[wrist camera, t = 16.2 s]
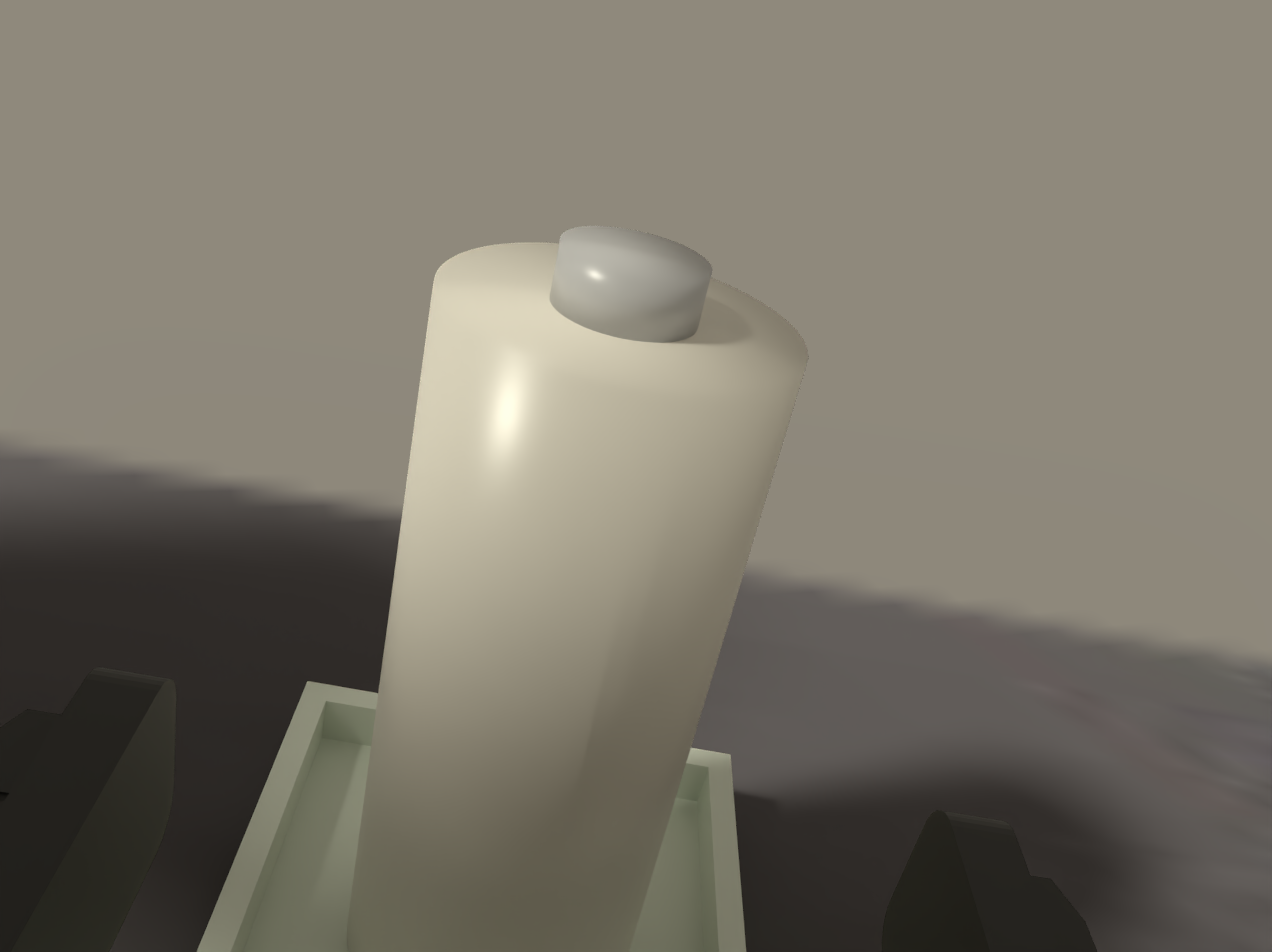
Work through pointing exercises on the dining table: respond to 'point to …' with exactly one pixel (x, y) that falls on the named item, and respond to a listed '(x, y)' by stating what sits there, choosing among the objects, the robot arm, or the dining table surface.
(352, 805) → the tray
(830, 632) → the dining table surface
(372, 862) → the battery cell
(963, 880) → the robot arm
